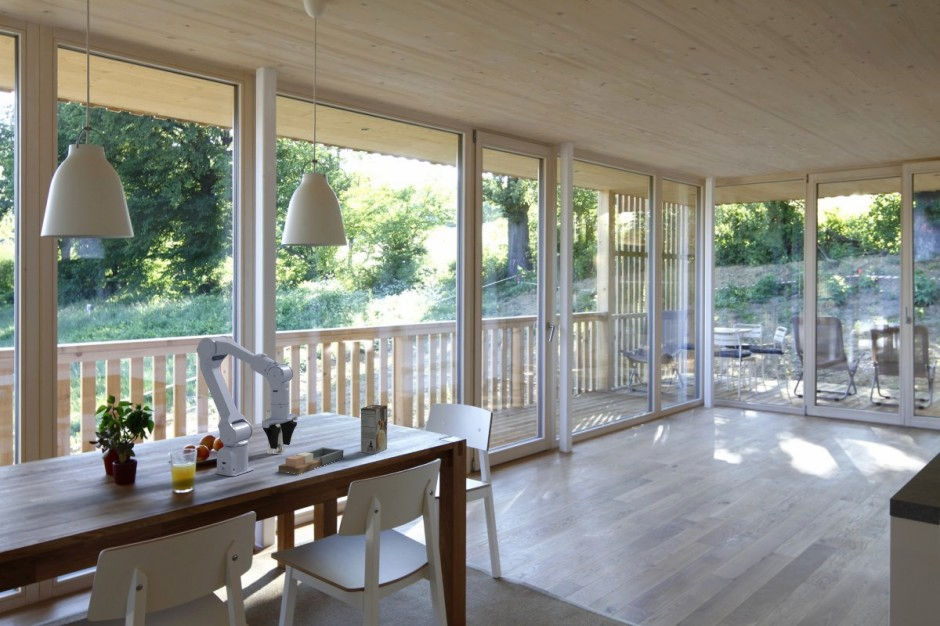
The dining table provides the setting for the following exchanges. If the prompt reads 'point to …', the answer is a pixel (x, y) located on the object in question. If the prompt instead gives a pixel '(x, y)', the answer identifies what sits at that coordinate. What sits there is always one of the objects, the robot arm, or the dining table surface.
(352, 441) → the dining table surface
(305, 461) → the tile cream
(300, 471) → the board
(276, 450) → the beer glass
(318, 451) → the tray
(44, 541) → the dining table surface
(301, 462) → the tile terracotta
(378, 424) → the coffee box
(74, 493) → the dining table surface
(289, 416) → the robot arm
